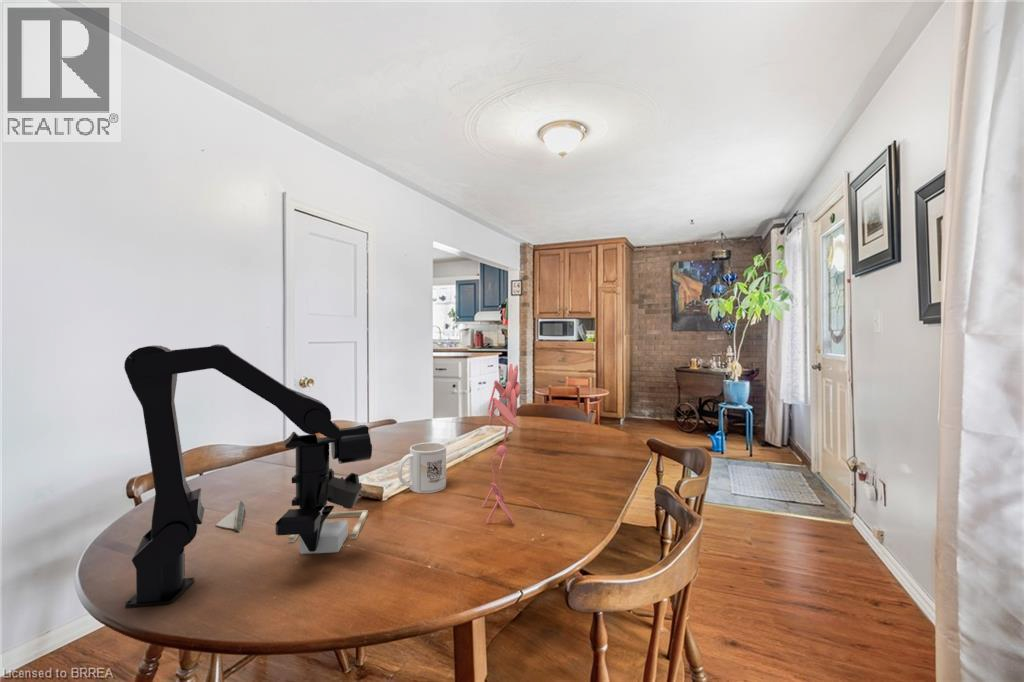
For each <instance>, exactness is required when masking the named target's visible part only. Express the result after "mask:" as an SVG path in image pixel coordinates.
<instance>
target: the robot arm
mask: <svg viewBox="0 0 1024 682" xmlns="http://www.w3.org/2000/svg"><path fill="white" fill-rule="evenodd" d="M123 369H124V372H125V375H126V376H127V379H128V381H129V384H130V386H131V389H132V391H133V393H134V394H135V396H136V398H137V401H139V403H140V406H141V408H142V413H143V420H144V426H145V433H146V441H147V446H148V453H149V460H150V466H151V471H152V472H151V473H152V479H153V485H154V491H155V492H154V493H155V495H154V496H155V497H154V504H153V508H152V509H153V510H152V516H151V517H152V518H151V528H150V530H147V532H146V533H145V534H144V535H143V536H142V537H141V539H140V542H139V544H138V546H137V548H136V550H135V552H134V554H133V556H132V559H131V562H132V564H133V566H134V568H135V576H136V577H135V580H136V581H135V584H136V585H135V586H136V587H135V590H136V591H135V592H136V593H135V594H134V595H133V596H132V597H131V598H130V599H128V600H127V601H125V603H124V607H125V608H128V607H145V606H155V605H156V606H158V605H169V604H171V603H173V602H174V601H175V600H176V599H177V598H178V597H180V596H181V594H183V593H184V592H185V591H186V590H187V589H188V588H189V587H190V586H191V585H192V584H193V583H194V582H195V577H185V576H186V575H185V574H186V567H185V566H186V565H185V563H186V559H185V557H186V554H185V547H187V546H188V545H189V544H191V542H193V540H194V539H195V537H196V535H197V532H198V528H199V525H202V523H203V520H204V514H205V507H204V506H203V504H202V501H201V498H202V488H197V489H194V490H192V489H191V488H190V486H189V484H188V483H187V479H186V472H185V466H184V465H185V464H184V459H183V452H182V451H183V450H182V443H181V438H180V437H181V436H180V430H179V424H178V418H177V411H176V404H175V396H176V388H177V382H178V374H184V373H190V372H197V371H204V370H211V369H213V370H216V371H217V372H219V373H221V374H222V375H224V376H226V377H228V378H229V379H231V380H232V381H234V382H235V383H237V384H239V385H240V386H243V387H244V388H245V389H247V390H248V391H250V392H252V393H253V394H255V395H257V396H258V397H259V398H261V399H263V400H264V401H267V402H269V403H270V404H271V405H273V406H274V407H275V408H277V409H278V410H279V411H280V412H281V413H282V414H284V415H285V416H286V418H287V419H289V420H290V421H291V422H292V423H293V424H294V425H295V426H296V427H297V428H298V429H300V430H301V431H302V432H303V433H304V434H302V435H299V434H297V433H296V431H292V432H291V434H290V435H289V436H288V437H287V438H286V439H285V440H284V441H283V444H284V447H285V448H286V449H291V448H293V449H294V448H295V474H294V475H293V476H292V477H291V484H295V497H293V499H292V500H291V507H299V508H292V509H291V508H290V509H287V511H286V512H285V513H284V514H283V515H282V516H281V517H279V519H278V520H277V521H276V522H275V535H276V536H290V535H297V534H299V538H300V537H301V538H302V540H303V542H304V543H305V545H306V547H307V548H308V550H309V551H310V552H314V551H316V549H317V546H318V542H319V538H320V534H321V530H322V526H323V522H324V521H326V519H328V518H327V517H328V515H329V514H330V512H333V510H334V509H335V506H334V505H337V506H340V507H341V506H342V507H343V509H347V510H351V509H353V508H354V505H356V503H357V500H358V498H359V496H360V492H361V490H362V488H363V487H362V486H363V485H362V482H360V478H359V474H357V473H354V472H351V473H349V474H348V475H347V476H346V477H345V478H344V477H343V476H342V477H340V478H339V477H335V471H334V470H333V468H330V451H331V457H332V458H331V459H332V460H337V462H338V464H339V465H342V464H349V463H355V462H356V463H357V462H361V461H368V460H371V458H372V455H373V454H372V453H373V445H372V444H373V443H372V442H371V436H370V433H369V427H368V425H367V424H363V425H362V424H361V425H356V426H352V427H350V426H349V427H344V428H343V427H342V428H340V427H339V426H338V425H337V424H336V423H335V422H332V413H331V410H330V408H329V407H328V406H326V405H325V404H324V403H323V402H322V401H321V400H319V399H316V398H314V397H312V396H310V395H308V394H305V393H302V392H300V391H296V390H294V389H292V388H289V387H287V386H286V385H285V384H283V383H281V382H280V381H278V380H277V379H275V378H273V377H272V376H270V375H269V374H267V373H266V372H264V371H262V370H261V369H259V368H258V367H256V366H254V364H252V363H250V362H248V361H247V360H246V359H244V358H243V357H241V356H239V355H238V354H236V353H234V352H233V351H232V350H231V349H230V348H229V347H228V346H226V345H224V344H220V343H219V344H218V343H217V344H213V345H212V344H211V345H210V346H209V345H208V346H203V347H202V346H201V347H192V348H191V347H189V348H181V349H180V348H179V349H173V350H172V349H170V348H168V347H166V346H162V345H147V346H142V347H139V348H137V349H135V350H133V351H132V352H131V353H130V354H128V355H127V357H126V358H125V361H124V367H123ZM317 434H321V435H323V436H322V437H317ZM330 449H331V450H330ZM328 502H329V503H331V504H334V505H328Z"/></svg>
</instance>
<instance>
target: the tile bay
mask: <svg viewBox="0 0 1024 682" xmlns="http://www.w3.org/2000/svg"><path fill="white" fill-rule="evenodd" d="M368 515H369V511H368V510H367V509H366V510H365V509H364V510H363V509H362V510H345V511H344V510H342V511H340V510H339V511H331V512H330V514H329V515H328V517H327V518H326V519H335V518H356V517H357V518H358V517H359V518H358V519H357V521H356V524H355V525H354V527H353V530H352V531H351V533H350V540H356V539H357V538H358V536H359V534H360V532H361V529H362V528H363V526H364V523H365V522H366V519H367V517H368ZM299 537H300V535H299V534H297V535H288V540H287V541H288V542H287V543H288V544H289V543H294V542H295V541H296V540H297V539H298V538H299Z"/></svg>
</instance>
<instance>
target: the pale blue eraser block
mask: <svg viewBox="0 0 1024 682" xmlns="http://www.w3.org/2000/svg"><path fill="white" fill-rule="evenodd" d="M348 536H349V521H348V520H331V521H330V520H325V521H324V522H323V526H322V530H321V534H320V538H319V542H318V546H317V549H316V551H314V552H310V551H309V550H308V548H307V547H306V545H305V543H304V542H303V540H302V538H301V537H300V536H299V554H300V555H304V554H305V555H306V554H323V553H325V554H326V553H327V554H328V553H330V554H331V553H339V551H340V550H341V547H342V546H343V545H344V542H345V541H346V539H347V538H348Z"/></svg>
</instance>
